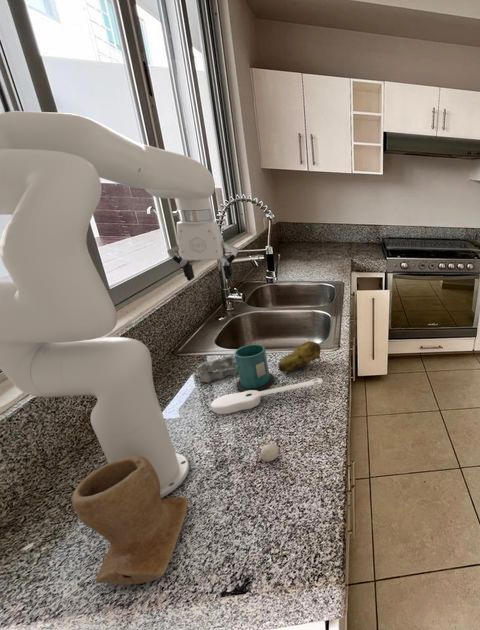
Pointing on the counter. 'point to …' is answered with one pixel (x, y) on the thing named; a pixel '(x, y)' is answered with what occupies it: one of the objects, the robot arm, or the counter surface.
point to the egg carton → (217, 369)
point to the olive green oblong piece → (300, 357)
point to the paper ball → (269, 452)
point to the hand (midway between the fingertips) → (210, 278)
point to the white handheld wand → (251, 398)
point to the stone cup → (130, 519)
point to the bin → (252, 366)
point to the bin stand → (257, 387)
